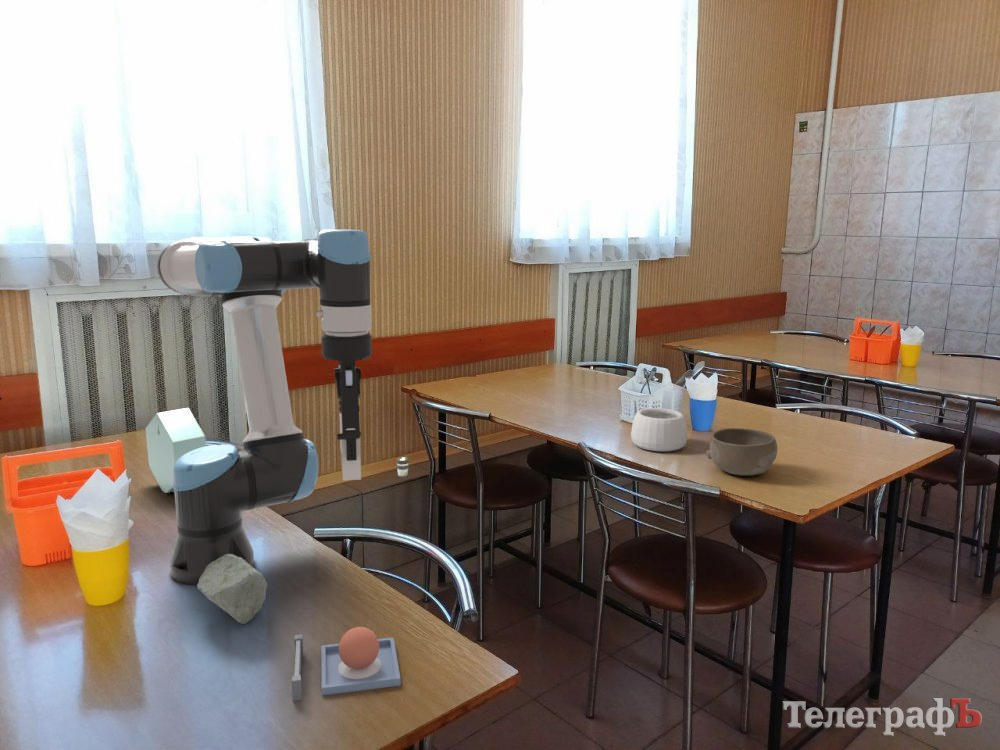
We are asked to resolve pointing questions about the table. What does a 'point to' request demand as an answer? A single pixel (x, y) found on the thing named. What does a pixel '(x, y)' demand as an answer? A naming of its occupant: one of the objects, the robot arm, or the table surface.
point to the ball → (358, 648)
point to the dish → (359, 670)
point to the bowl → (742, 451)
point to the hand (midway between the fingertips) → (350, 465)
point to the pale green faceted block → (171, 443)
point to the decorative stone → (234, 587)
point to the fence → (297, 668)
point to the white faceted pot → (659, 429)
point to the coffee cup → (402, 466)
